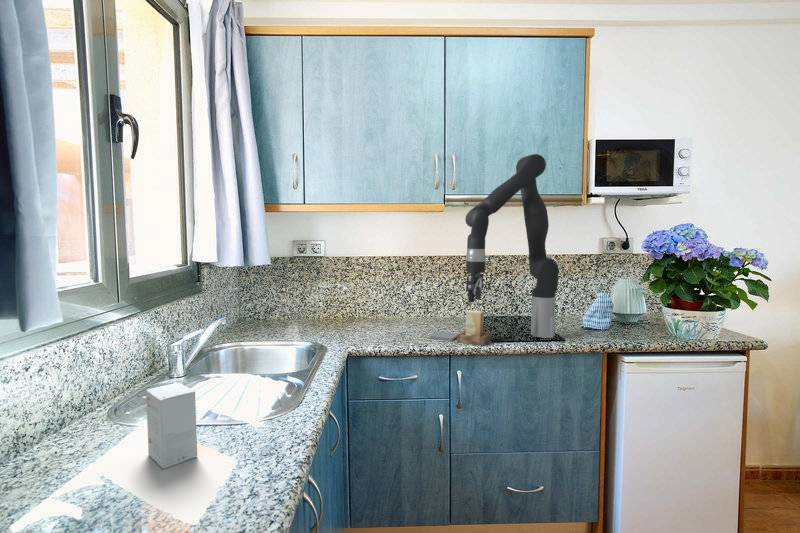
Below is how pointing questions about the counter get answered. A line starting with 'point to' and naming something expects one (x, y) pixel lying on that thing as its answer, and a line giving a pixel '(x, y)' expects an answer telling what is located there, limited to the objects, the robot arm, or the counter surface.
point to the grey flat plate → (444, 336)
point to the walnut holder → (474, 339)
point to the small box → (171, 424)
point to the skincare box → (474, 323)
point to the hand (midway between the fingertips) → (474, 300)
